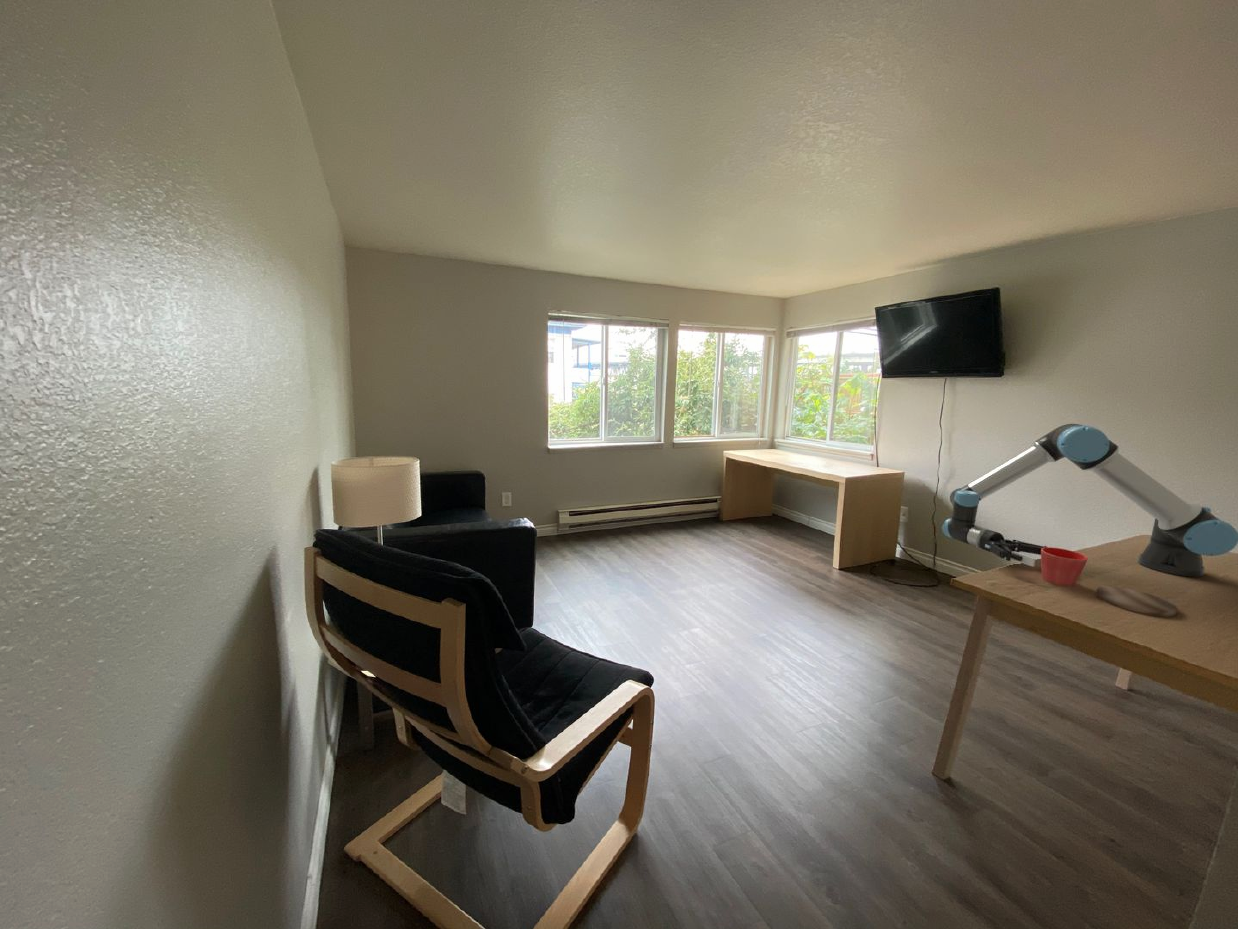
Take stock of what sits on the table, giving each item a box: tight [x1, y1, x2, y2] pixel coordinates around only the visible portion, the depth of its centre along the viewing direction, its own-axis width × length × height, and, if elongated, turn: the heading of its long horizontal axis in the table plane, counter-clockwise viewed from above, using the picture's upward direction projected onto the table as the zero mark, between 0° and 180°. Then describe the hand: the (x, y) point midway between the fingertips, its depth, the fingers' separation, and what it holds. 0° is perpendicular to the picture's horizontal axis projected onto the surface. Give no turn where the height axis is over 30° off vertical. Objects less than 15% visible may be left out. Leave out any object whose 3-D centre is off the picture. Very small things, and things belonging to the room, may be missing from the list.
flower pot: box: [1040, 546, 1088, 587], centre depth 152 cm, size 11×11×10 cm
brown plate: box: [1095, 585, 1178, 618], centre depth 139 cm, size 16×16×2 cm
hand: (1050, 561), depth 154 cm, fingers open, 13 cm apart
